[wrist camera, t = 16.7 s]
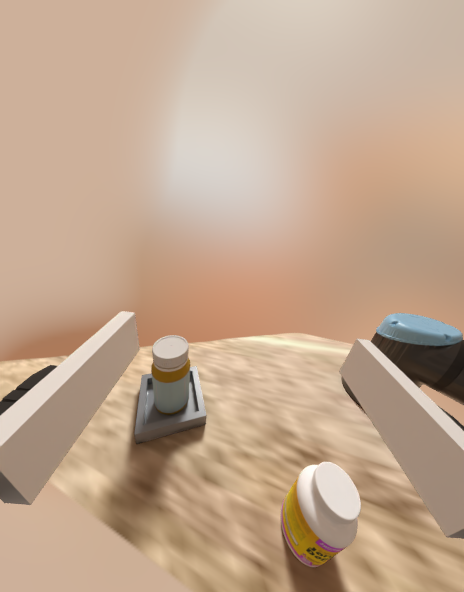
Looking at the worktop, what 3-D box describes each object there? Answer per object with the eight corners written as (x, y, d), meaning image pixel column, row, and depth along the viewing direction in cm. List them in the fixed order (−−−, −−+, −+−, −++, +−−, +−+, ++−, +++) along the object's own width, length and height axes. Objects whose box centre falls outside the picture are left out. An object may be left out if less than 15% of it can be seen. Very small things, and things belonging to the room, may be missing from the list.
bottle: (195, 394, 40) (198, 342, 34) (173, 423, 34) (172, 367, 28) (171, 380, 42) (170, 329, 36) (147, 405, 37) (140, 349, 30)
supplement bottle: (291, 574, 22) (328, 542, 16) (273, 496, 28) (295, 454, 22) (339, 563, 23) (388, 529, 18) (311, 490, 29) (342, 449, 23)
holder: (196, 374, 46) (196, 366, 45) (205, 424, 36) (206, 415, 34) (143, 384, 42) (142, 375, 41) (136, 444, 31) (134, 434, 30)
